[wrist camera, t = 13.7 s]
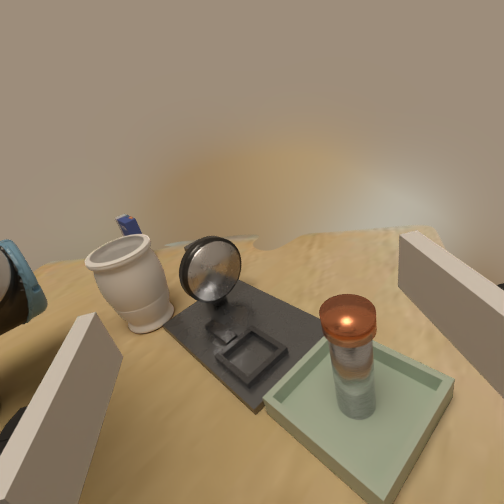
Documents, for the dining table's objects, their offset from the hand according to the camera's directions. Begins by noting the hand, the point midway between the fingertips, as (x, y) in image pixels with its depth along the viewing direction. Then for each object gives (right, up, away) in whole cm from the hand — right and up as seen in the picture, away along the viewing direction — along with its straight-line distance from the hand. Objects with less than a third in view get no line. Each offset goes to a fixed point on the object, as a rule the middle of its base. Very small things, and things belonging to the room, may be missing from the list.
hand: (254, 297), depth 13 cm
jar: (-18, -10, +44) cm, 48 cm away
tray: (+11, -15, +21) cm, 28 cm away
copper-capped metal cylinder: (+11, -14, +20) cm, 27 cm away
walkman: (-28, 0, +67) cm, 73 cm away
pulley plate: (-2, -10, +35) cm, 37 cm away
